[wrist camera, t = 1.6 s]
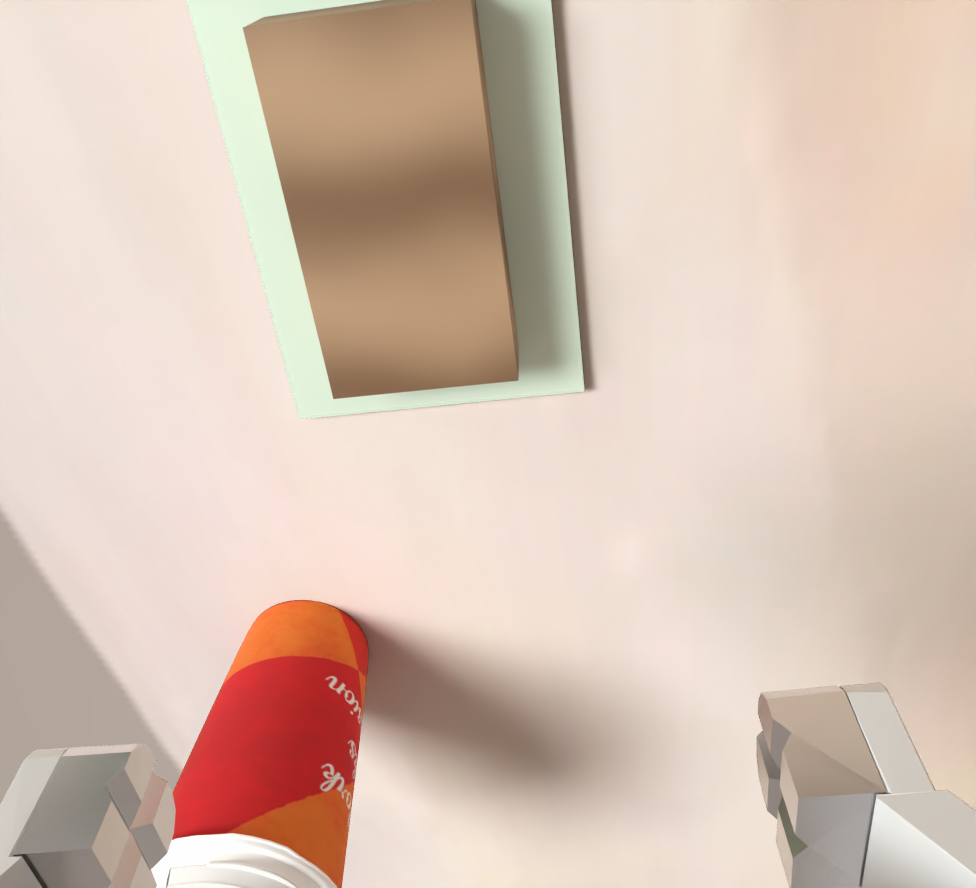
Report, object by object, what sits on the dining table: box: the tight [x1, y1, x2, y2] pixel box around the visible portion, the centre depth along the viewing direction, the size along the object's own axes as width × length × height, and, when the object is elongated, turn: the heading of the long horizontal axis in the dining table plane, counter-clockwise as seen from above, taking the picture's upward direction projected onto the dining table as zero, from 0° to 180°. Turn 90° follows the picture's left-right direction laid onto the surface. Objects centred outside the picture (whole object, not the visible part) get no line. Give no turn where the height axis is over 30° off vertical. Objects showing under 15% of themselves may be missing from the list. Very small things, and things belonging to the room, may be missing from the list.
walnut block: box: [243, 0, 519, 399], centre depth 30 cm, size 12×6×2 cm, turn 7°
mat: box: [186, 0, 585, 419], centre depth 31 cm, size 16×11×1 cm
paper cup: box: [151, 600, 368, 888], centre depth 36 cm, size 8×8×14 cm
